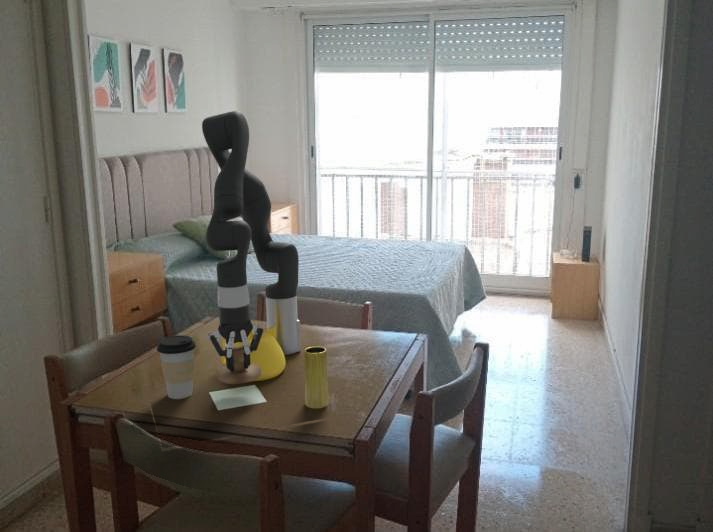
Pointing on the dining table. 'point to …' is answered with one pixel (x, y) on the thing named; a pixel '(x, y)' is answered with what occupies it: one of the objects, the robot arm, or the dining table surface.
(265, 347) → the teapot
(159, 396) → the dining table surface
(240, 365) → the lid
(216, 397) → the mat
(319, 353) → the vase
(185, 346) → the coffee cup
